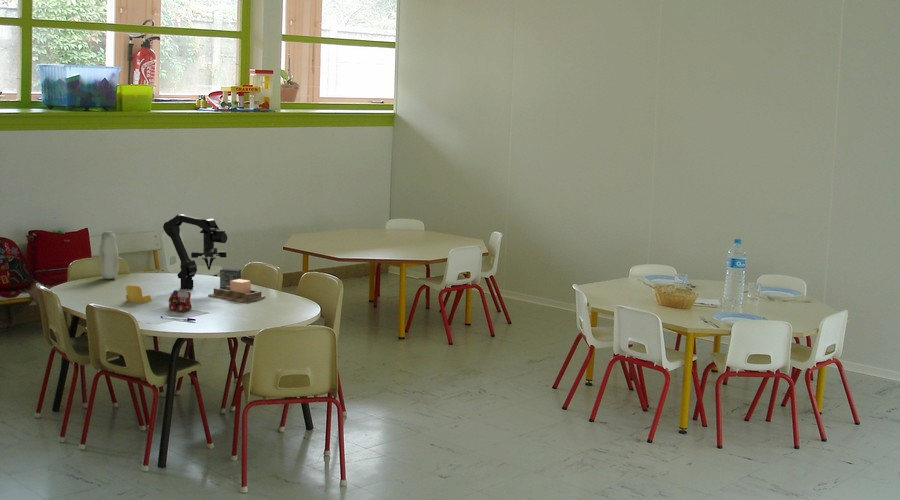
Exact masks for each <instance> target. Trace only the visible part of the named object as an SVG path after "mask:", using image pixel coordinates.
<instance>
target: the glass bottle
mask: <svg viewBox="0 0 900 500" xmlns="http://www.w3.org/2000/svg"><path fill="white" fill-rule="evenodd" d="M98 251H99V252H98V257H99V258H98V260H99V261H98V262H99V273H100V275H101V277H102V278H103V279H105V280H112V279H113V280H114V279H115V278H116V277H117V275H118V274H119V268H120V267H119V249H118V245H117V242H116V234H115V233H114V231H112V230H105V231H103V232H102V233H101V236H100V245H99V250H98Z"/></svg>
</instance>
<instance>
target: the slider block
mask: <svg viewBox="0 0 900 500" xmlns="http://www.w3.org/2000/svg"><path fill="white" fill-rule="evenodd" d="M251 287H252V285H251V280H249V279H242V278H241V279H237V280H232V281H230V291H235V292H240V293H246V294H251V290H252V289H251Z"/></svg>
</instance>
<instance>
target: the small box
mask: <svg viewBox="0 0 900 500" xmlns="http://www.w3.org/2000/svg"><path fill="white" fill-rule="evenodd" d="M241 272H242V269H239V268H222V269H220V270H219V289H224V288H225V286H230V281H232V280H237V279H242V273H241Z"/></svg>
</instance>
